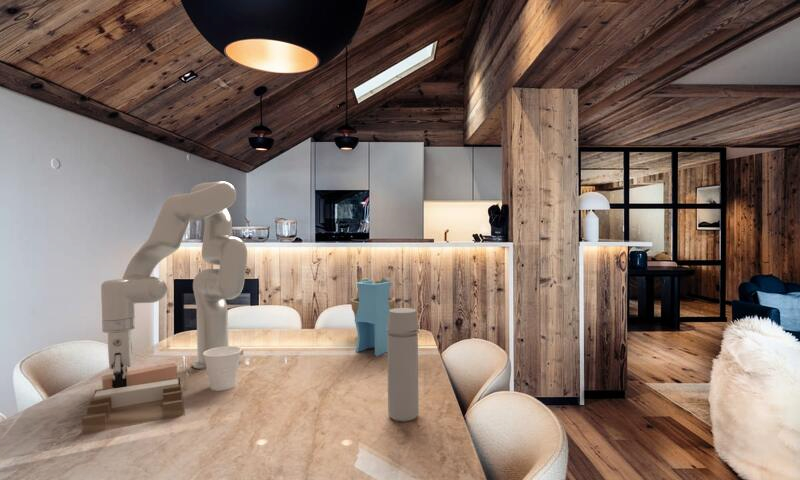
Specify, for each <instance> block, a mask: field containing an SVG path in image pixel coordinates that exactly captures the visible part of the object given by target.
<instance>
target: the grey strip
mask: <svg viewBox="0 0 800 480" xmlns="http://www.w3.org/2000/svg"><path fill="white" fill-rule="evenodd" d="M172 386H178V379H173V380H167V381H160V382H154V383H147V384H141V385H134V386H128V387H121V388H115V389H108V390H102V391H96V394H95V393H94V396H93V399H97V398H103V397H109V396H111V405H112V408H116V407H121V406H127V405H133V404H139V403H145V402H151V401H157V400H162V399H163V388H166V387H172Z"/></svg>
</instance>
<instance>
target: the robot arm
mask: <svg viewBox="0 0 800 480" xmlns="http://www.w3.org/2000/svg"><path fill="white" fill-rule="evenodd" d="M236 199H237V191H236V188H235V187H234V185H232V184H231V183H229V182H227V181H213V182H211V181H210V182H203V183H199V184H196V185H194V186H193V187H192V188H191V190H190V192H189V193H181V194H173V195H170V196H168V197H167V198H166V199H165V200H164V202H163V204H162V205H161V209H160V211H159V214H158V215H157V218H156V220H155V223H154V226H153V227H152V230H151V232H150V235H149V237H148V239H147V241H145V243H143V245H141V246H140V248H139V249H138V250H137V252H136V253H135V254H134V255H133V256H132V258H131V259H130V261H129V263H128V264H127V266H126V269H125V271H124V273H123V276H122V278H120V279H119V278H118V279H117V278H116V279H108V280H105V281H104V282H102V284H101V287H100V296H101V324H102V325H101V326H102V327H101V328H102V333H105V334H107V355H108V357H107V358H108V366H109V369H110V370H112V374H113V380H112V388H114V389H115V388H121V387H127V379H126V378H125V372H126V371H128V368H130V367H131V366H132V363H133V358H134V357H133V341H132V338H133V337H132V331H133V330H135V328H136V320H135V319H136V318H135V316H136V315H135V305H136V304H152V303H157V302H159V301H161V300H162V299H163V298H164V297H165V296H166V295H167V292H168V286H167V284H166V282H165V281H164V280H163V279H162V278H159V277H156V276H151V275H152V274H153V272H154V270H155V268H156V267H157V266H158V264H159V263H160V262H161V261H163V260H164V259H165V258H167V257H169V256H170V255H172V254H174V253H175V252H176V251H177V250H179V248H180V246H181V245H182V244H181V243H182V241H183V239H184V237H185V233H186V231H187V229H188V226H189V223H190V222H198V221H202V220H204V229H203V236H202V237H203V238H202V245H201V257H202V260H203V261H204V262H205V263H207V264H209V265H214V266H219V268H206V269H203V270H200V271H199V272H198V273H197V274H196V275H195V276H194V279H193V281H192V290H193V294H194V295H193V296H194V299H195V305H196V307H195V308H196V334H197V335H196V336H197V337H196V341H197V342H196V344H197V359H195V360H194V361H192V367H193V368H195V369H199V370H207V368H206V363H205V359H204V355H203V352H205V351H207V350H209V349H213V348H218V347H227V346H229V316H228V315H229V314H228V313H229V310H228V309H229V308H228V305H227V300H234V299H236V298H238V296H240V295H241V293H242V291H243V289H244V285H245V279H246V272H247V262H248V249H247V245H246V244H245V242H244V241H243V240H242V239H241V238H239V237H237V236H232V232H233V229H232V228H233V222H232V221H233V220H232V216H231V213H230V212H229V210H228V209H229V208H230V207H232V206H233V205H234V203H235V202H236ZM243 355H244V349H243V348H241V352H240V356H243Z"/></svg>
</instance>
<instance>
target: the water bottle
mask: <svg viewBox="0 0 800 480" xmlns="http://www.w3.org/2000/svg"><path fill="white" fill-rule="evenodd" d="M386 330H387V332H388V334H387V352H386V353H387V411H388V416H389V417H390V418H391V419H392V420H394V421H396V422H403V423H404V422H410V421H412V420H415V419H416V418H417V416H418V415H419V410H420V409H419V345H418V344H419V341H418V340H419V339H418V338H419V337H418V336H419V333H421V331H420V330H419V320H418V310H417V309H416V308H411V307H397V308H396V307H395V309H391V310H389V315H388V327H387V329H386Z"/></svg>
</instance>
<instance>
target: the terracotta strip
mask: <svg viewBox="0 0 800 480" xmlns="http://www.w3.org/2000/svg"><path fill="white" fill-rule="evenodd" d="M125 378H126V379H127V387H128V386H134V385H141V384H147V383H154V382H160V381H163V380H166V379H173V378H178V365H177V364H176V363H175V362H171V363H170V362H169V363H165V364H160V365H154V366H149V367H148V366H147V367H144V368H138V369H132V370H127V371H126V372H125ZM112 380H113V373H112V374H105V375H101V376H100V383H101V384H100V387H101V388H100V389H107V388H112Z"/></svg>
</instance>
